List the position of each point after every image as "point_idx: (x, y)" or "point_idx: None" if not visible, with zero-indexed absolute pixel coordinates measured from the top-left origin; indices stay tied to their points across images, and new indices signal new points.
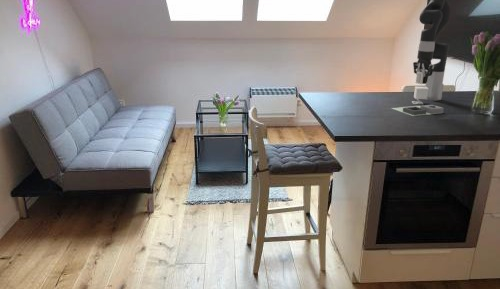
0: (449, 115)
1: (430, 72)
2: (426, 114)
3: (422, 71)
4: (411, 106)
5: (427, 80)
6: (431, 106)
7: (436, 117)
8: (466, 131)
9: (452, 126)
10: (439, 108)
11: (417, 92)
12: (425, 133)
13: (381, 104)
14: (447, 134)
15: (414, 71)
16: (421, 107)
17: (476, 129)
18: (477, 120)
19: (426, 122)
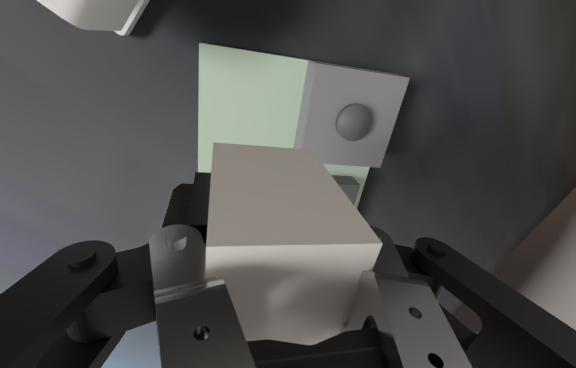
0: (418, 53)
1: (459, 291)
2: (362, 185)
3: (215, 272)
4: (200, 125)
5: (324, 168)
6: (359, 138)
7: (394, 152)
8: (531, 202)
9: (484, 198)
10: (397, 113)
11: (103, 22)
12: (449, 305)
13: (52, 215)
14: (493, 266)
15: (76, 346)
16: None
17: (556, 153)
18: (551, 6)
19: (404, 240)
